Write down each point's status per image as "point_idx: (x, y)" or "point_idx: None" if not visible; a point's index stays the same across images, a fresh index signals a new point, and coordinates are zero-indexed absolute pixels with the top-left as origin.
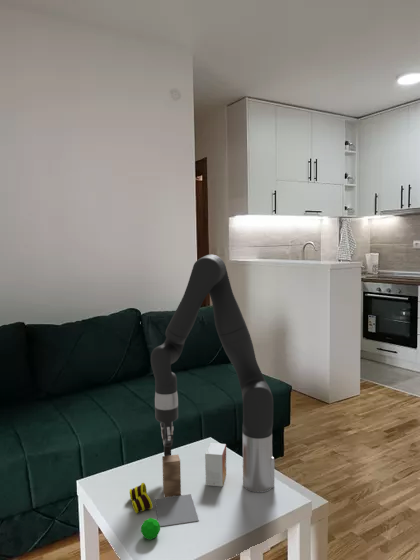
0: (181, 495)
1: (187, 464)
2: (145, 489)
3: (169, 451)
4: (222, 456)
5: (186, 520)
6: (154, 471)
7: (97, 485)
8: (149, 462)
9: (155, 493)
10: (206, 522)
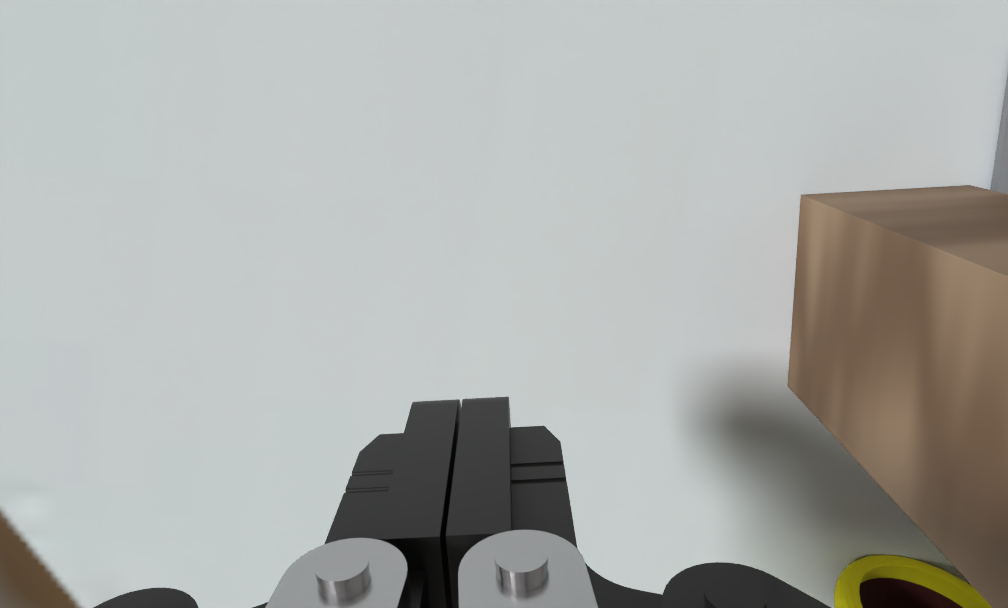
0: (1002, 181)
1: (191, 8)
2: (856, 606)
3: (567, 492)
4: None
5: None
6: (345, 464)
7: None
8: (118, 514)
9: (827, 467)
10: None
